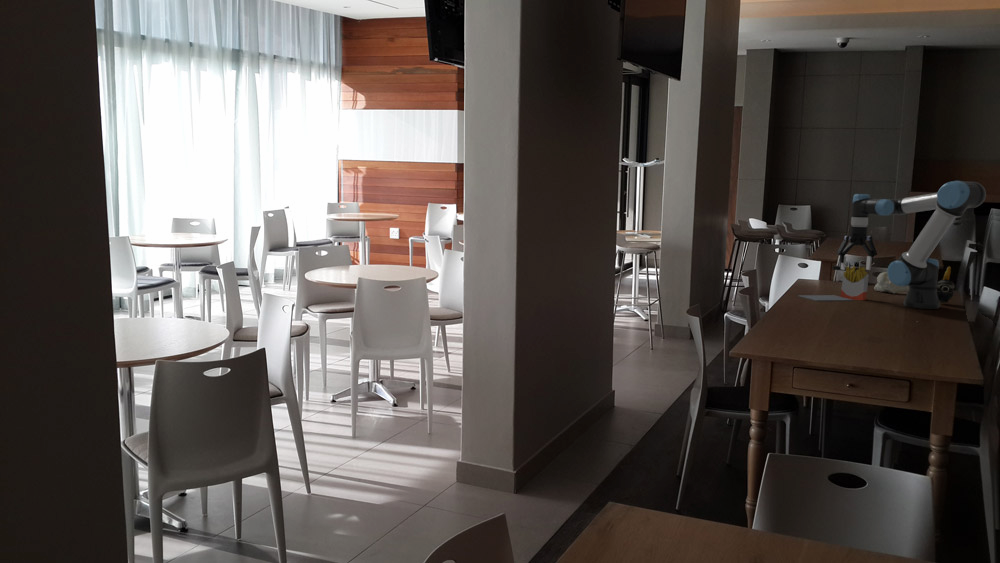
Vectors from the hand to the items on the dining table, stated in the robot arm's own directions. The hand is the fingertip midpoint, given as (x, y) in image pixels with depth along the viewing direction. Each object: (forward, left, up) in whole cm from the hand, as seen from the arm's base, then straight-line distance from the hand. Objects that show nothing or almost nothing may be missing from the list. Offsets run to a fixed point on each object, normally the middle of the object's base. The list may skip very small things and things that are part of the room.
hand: (855, 269), depth 407 cm
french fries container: (-3, +2, -16) cm, 17 cm away
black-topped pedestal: (+50, -29, -14) cm, 59 cm away
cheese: (+19, -26, -15) cm, 36 cm away
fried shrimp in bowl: (-17, -36, -14) cm, 43 cm away
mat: (-1, +16, -14) cm, 21 cm away
